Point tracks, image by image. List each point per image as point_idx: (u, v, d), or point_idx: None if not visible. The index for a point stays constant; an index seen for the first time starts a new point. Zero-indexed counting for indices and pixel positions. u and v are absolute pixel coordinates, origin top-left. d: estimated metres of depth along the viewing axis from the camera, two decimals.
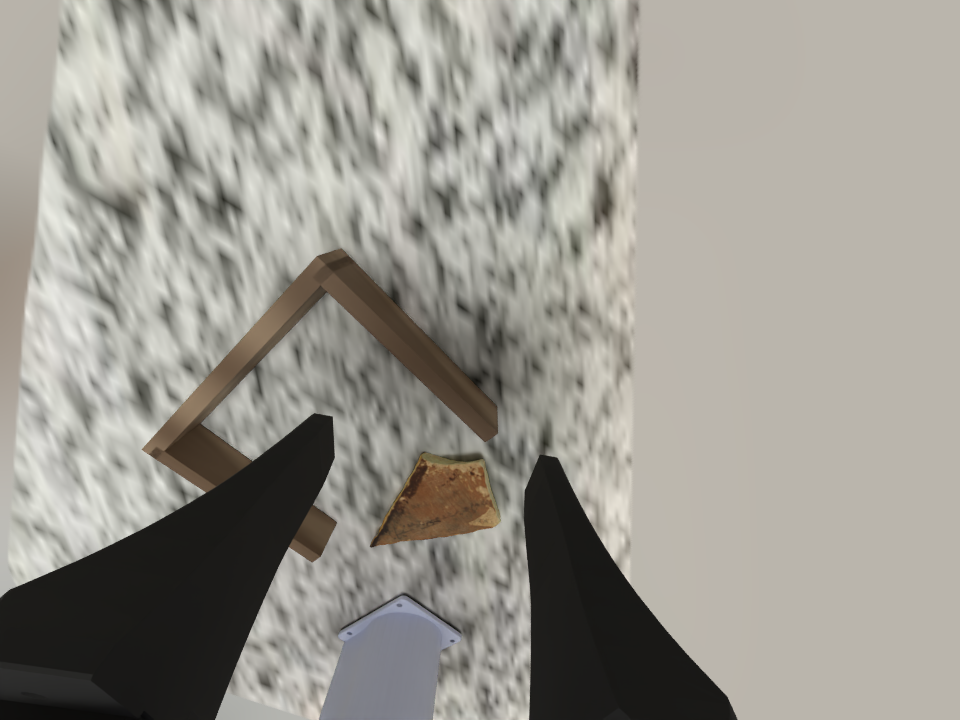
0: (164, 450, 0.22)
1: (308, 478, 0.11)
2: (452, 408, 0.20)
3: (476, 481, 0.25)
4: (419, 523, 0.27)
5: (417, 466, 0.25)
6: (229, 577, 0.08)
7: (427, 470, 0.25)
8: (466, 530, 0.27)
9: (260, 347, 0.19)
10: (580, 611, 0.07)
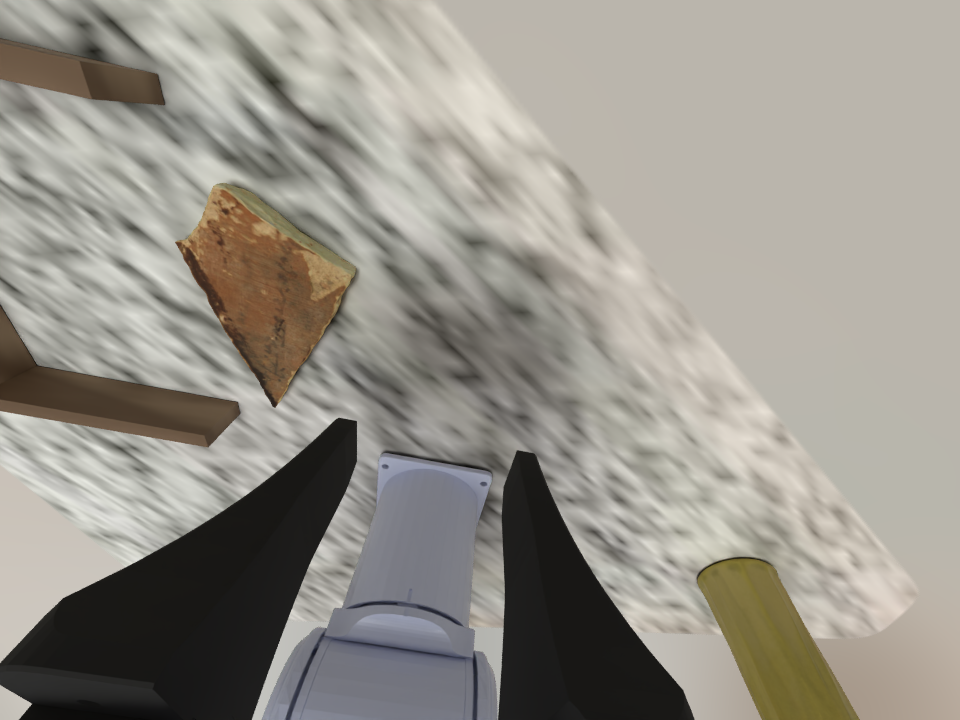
0: None
1: (334, 483, 0.11)
2: None
3: (241, 220, 0.15)
4: (272, 340, 0.19)
5: (184, 258, 0.17)
6: (267, 583, 0.08)
7: (194, 254, 0.17)
8: (324, 313, 0.18)
9: None
10: (542, 605, 0.07)
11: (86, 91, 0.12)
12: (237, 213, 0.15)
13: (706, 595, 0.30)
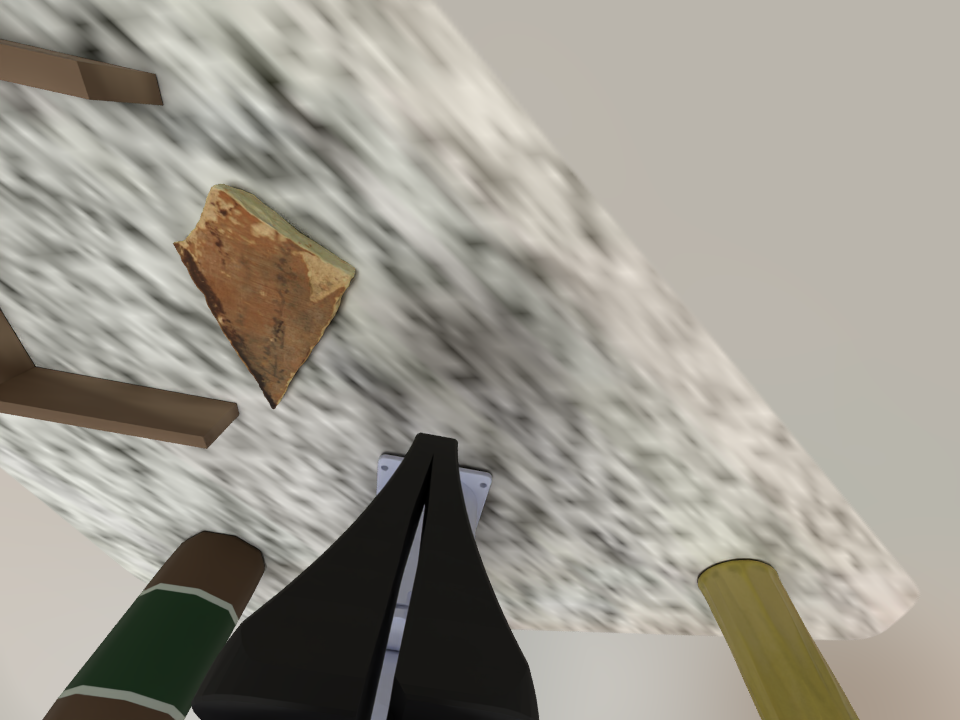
0: None
1: (422, 498, 0.11)
2: None
3: (240, 221, 0.15)
4: (271, 342, 0.19)
5: (182, 259, 0.17)
6: (391, 602, 0.08)
7: (192, 255, 0.17)
8: (323, 315, 0.18)
9: None
10: (413, 584, 0.07)
11: (83, 91, 0.12)
12: (235, 214, 0.15)
13: (706, 597, 0.30)
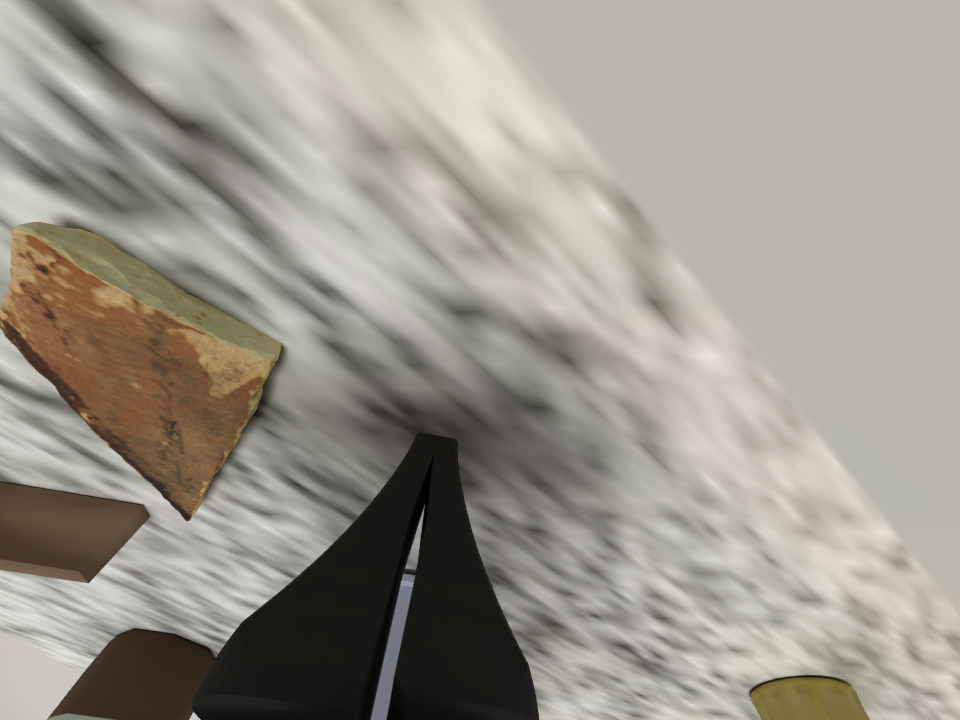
0: None
1: (423, 498, 0.11)
2: None
3: (72, 283, 0.09)
4: (165, 445, 0.13)
5: (6, 335, 0.11)
6: (391, 602, 0.08)
7: (17, 330, 0.10)
8: (235, 413, 0.12)
9: None
10: (413, 584, 0.07)
11: None
12: (62, 272, 0.09)
13: (764, 719, 0.24)
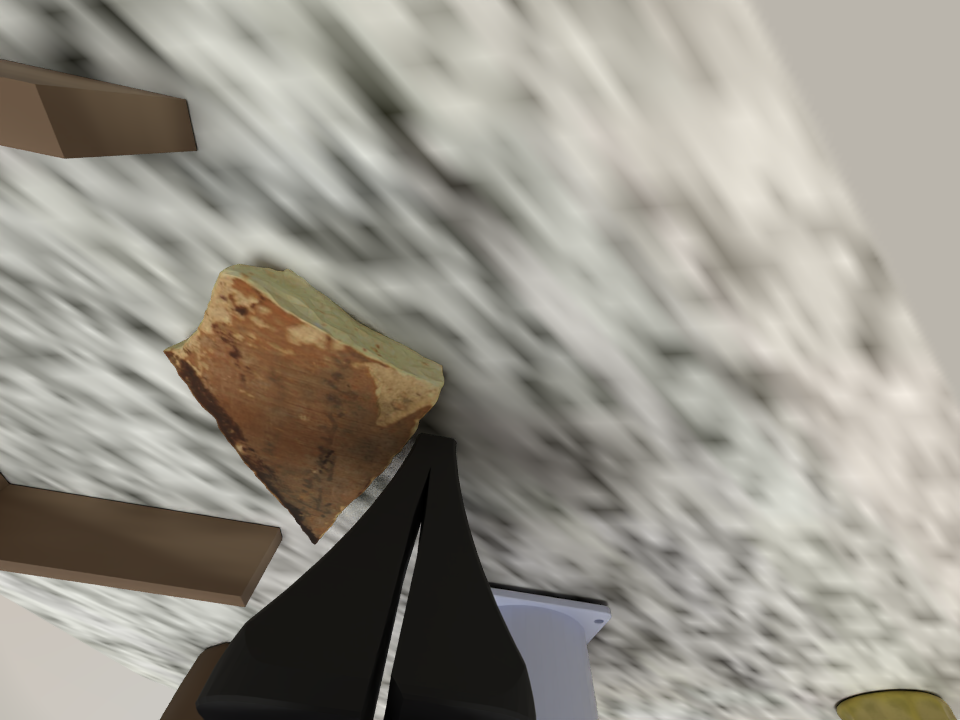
0: None
1: (424, 498, 0.11)
2: None
3: (269, 323, 0.09)
4: (314, 474, 0.13)
5: (179, 373, 0.11)
6: (394, 603, 0.08)
7: (194, 368, 0.11)
8: (394, 441, 0.12)
9: None
10: None
11: (53, 143, 0.06)
12: (261, 313, 0.09)
13: None
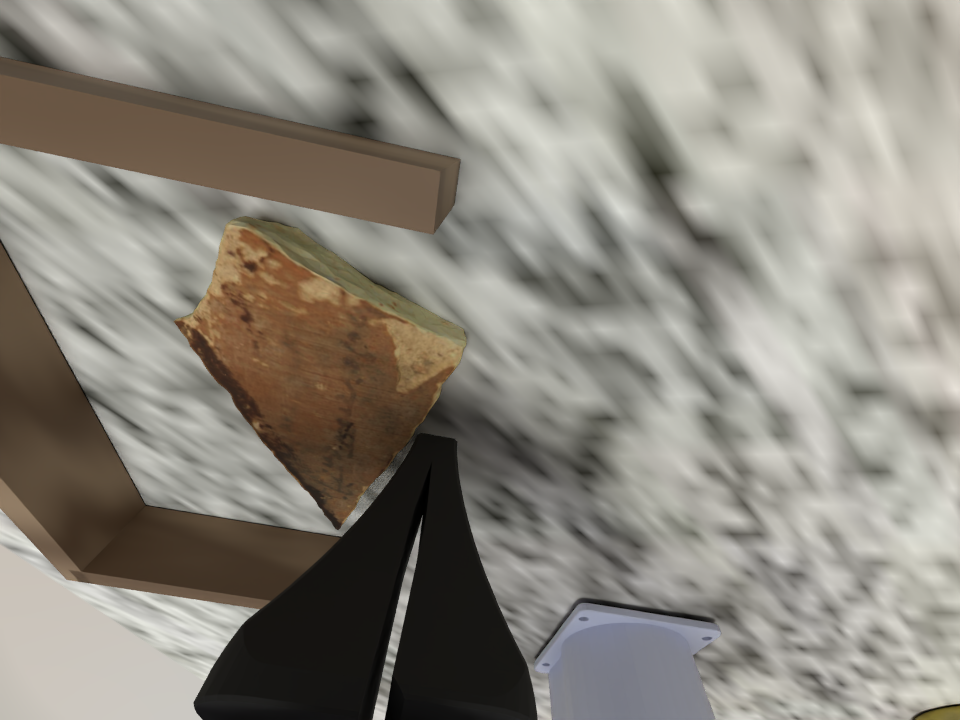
0: (80, 569, 0.14)
1: (424, 498, 0.11)
2: (259, 190, 0.06)
3: (280, 278, 0.09)
4: (334, 450, 0.12)
5: (191, 344, 0.10)
6: (393, 603, 0.08)
7: (205, 337, 0.10)
8: (416, 409, 0.11)
9: None
10: None
11: (427, 221, 0.06)
12: (271, 268, 0.09)
13: None
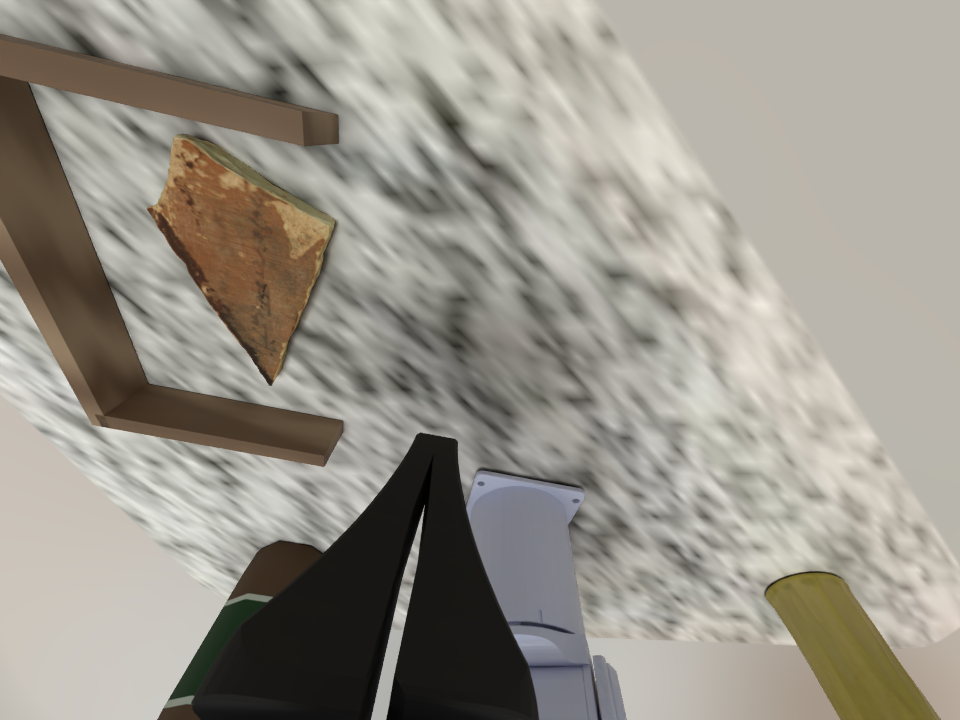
0: (102, 413, 0.20)
1: (422, 498, 0.11)
2: (214, 121, 0.12)
3: (207, 172, 0.14)
4: (257, 309, 0.18)
5: (158, 226, 0.16)
6: (391, 603, 0.08)
7: (166, 219, 0.16)
8: (306, 273, 0.17)
9: (1, 220, 0.14)
10: (413, 584, 0.07)
11: (300, 138, 0.12)
12: (202, 165, 0.14)
13: (777, 608, 0.31)
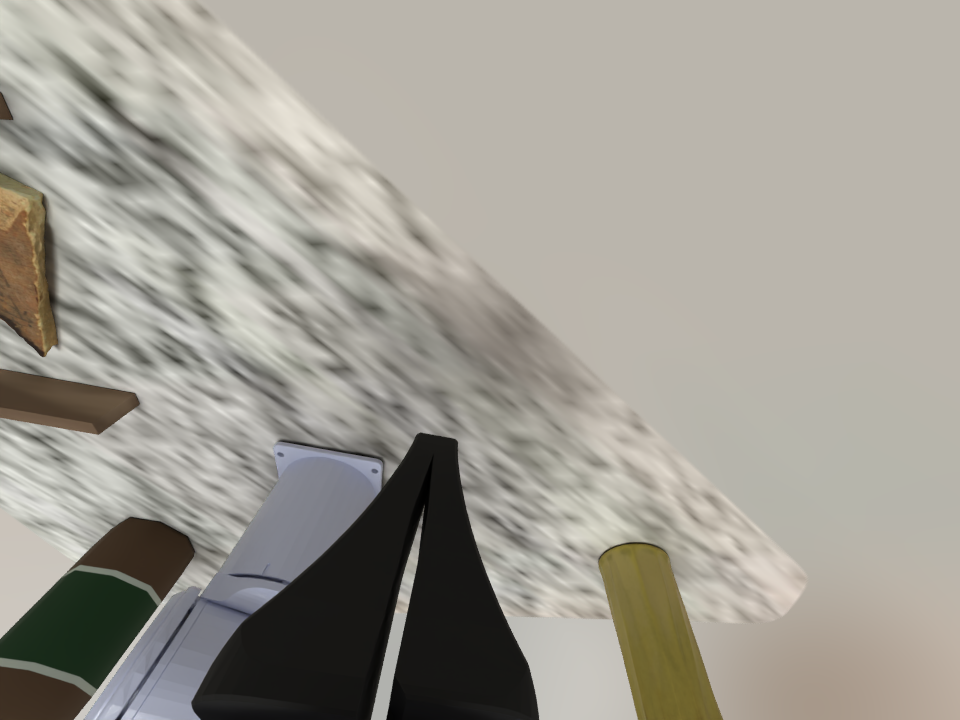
0: None
1: (422, 498, 0.11)
2: None
3: None
4: None
5: None
6: (391, 602, 0.08)
7: None
8: (23, 244, 0.18)
9: None
10: (413, 584, 0.07)
11: None
12: None
13: (604, 579, 0.31)
